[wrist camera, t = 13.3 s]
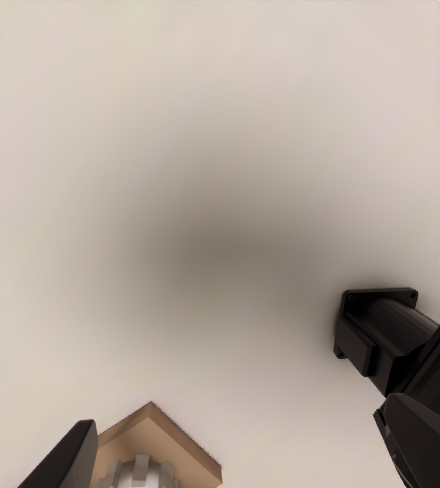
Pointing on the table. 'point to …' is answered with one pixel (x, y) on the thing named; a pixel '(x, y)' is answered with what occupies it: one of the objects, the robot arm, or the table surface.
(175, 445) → the gear board
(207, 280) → the table surface
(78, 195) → the table surface
